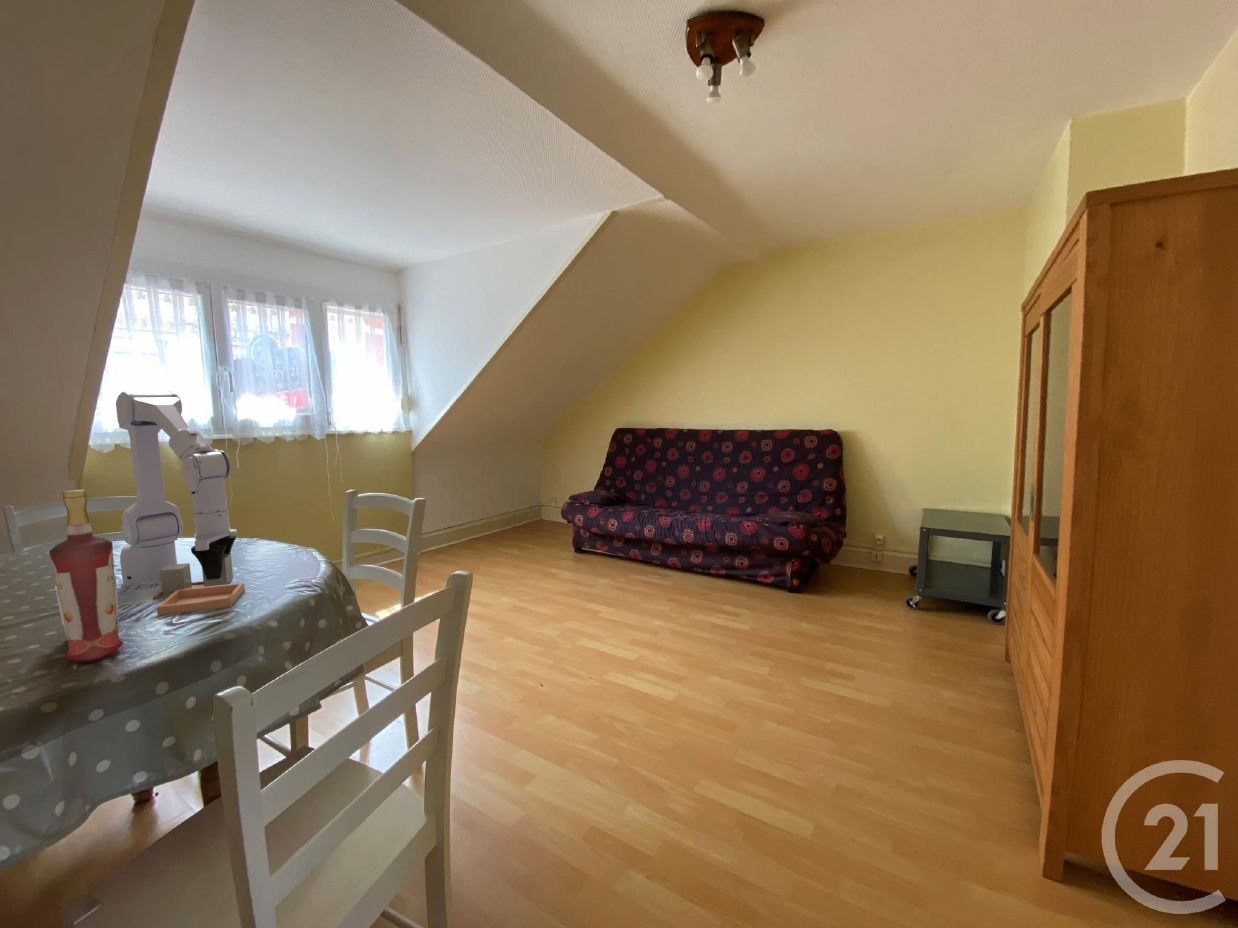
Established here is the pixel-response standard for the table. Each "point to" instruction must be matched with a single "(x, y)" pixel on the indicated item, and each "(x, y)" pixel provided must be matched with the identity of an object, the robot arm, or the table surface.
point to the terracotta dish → (201, 599)
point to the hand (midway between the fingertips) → (217, 575)
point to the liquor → (86, 585)
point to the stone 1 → (175, 578)
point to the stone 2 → (225, 573)
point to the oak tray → (160, 596)
